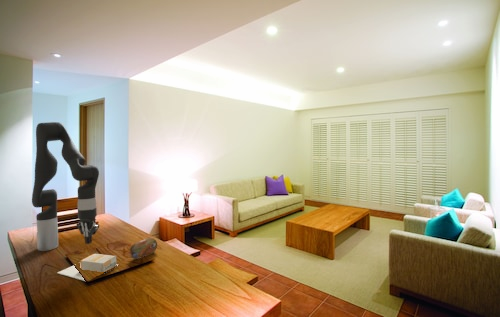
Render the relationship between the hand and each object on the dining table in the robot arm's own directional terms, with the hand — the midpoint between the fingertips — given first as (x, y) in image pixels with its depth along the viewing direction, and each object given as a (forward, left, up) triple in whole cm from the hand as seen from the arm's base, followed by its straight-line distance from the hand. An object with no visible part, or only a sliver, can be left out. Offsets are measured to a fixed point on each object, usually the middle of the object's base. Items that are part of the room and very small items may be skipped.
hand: (88, 243), depth 122 cm
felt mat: (+1, -1, -12) cm, 12 cm away
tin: (+14, +20, -12) cm, 27 cm away
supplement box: (-2, 0, -9) cm, 10 cm away
